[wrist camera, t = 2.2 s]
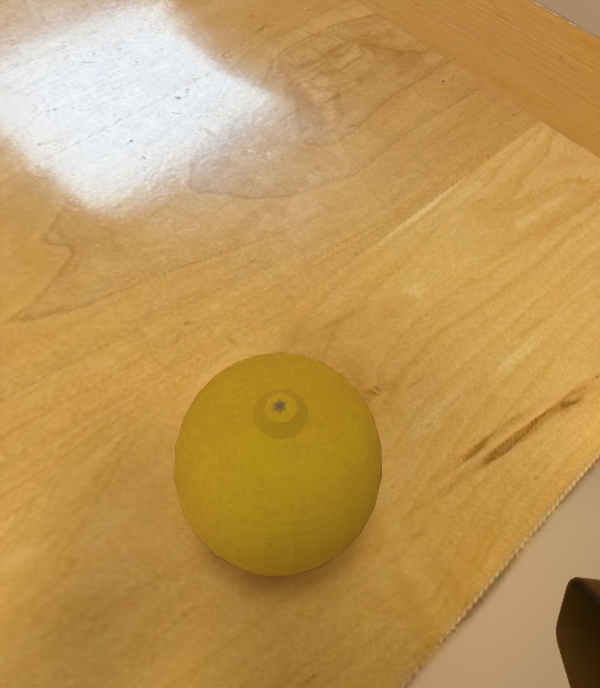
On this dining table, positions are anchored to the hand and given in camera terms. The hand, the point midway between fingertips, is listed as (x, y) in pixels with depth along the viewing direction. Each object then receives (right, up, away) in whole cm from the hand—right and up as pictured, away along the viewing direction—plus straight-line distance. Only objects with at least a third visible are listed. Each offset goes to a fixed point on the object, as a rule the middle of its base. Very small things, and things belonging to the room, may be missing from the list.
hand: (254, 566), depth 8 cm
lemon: (0, -2, +11) cm, 11 cm away
